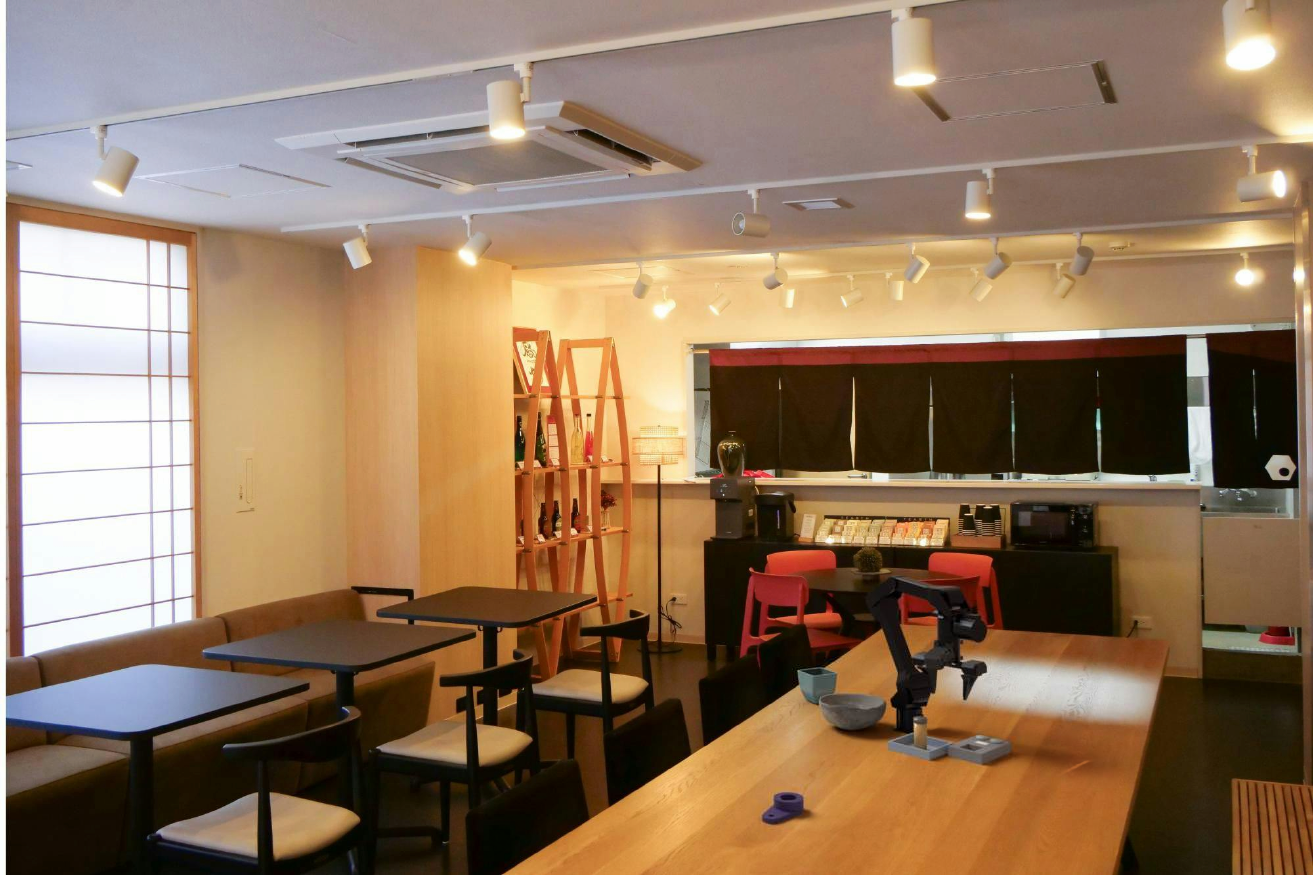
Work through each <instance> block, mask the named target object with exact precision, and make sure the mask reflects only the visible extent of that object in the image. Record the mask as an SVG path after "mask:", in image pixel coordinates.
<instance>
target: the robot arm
mask: <svg viewBox="0 0 1313 875" xmlns="http://www.w3.org/2000/svg"><path fill="white" fill-rule="evenodd" d="M904 594H906V595H907V596H908V595H909V596H912V597H914V598H918V599H921V600H924V601H926V602H928V604H929V605H930V606H931V607H933V608H934V609H935V610H934V611H933V612H931V613H930V616H931V617H932V618H937V619H936V625H937V626H936V632H937V634H936V635H937V636H936V639H935V640H933V641H934V642H933V647H932V648H931V649H929V650H928V651H921V652H916V653H914V654H913V656H912V653H911V651H910V649H909V645H908V642H907V640H906V638H905V633H904V632H903V629H902V628H903V627H902V626H901V623H900V620H899V611H900V604H899V601H900V600H901V599H902V598H903V596H904ZM865 604H866V606H867V608H868V611H869V612H870V613H869V614H871V616H872V617H873V618H874V619H876V621H878V622H879V624H880V626H881V630H882V632H883V635H884V637H885V642H886V643H887V646H888V649H889V653H890V656H891V658H892V661H893V663H894V666H895V669H896V673H897V677H896V681H895V687H896V692H895V693H894V694H893V695H892V696H891V698H890V699H889V701H890V705H891V708H893V709H895V718H896V719H895V722H896V723H895V726H894V727H892V730H894V731H898V732H902V733H907V734H910V733H914V722H913V717H916V716H922V717H925V716H924V715H925V714H924V713H923V707H924V708H925V707H927V706H928V704H929V700H930V697H931V695H934V694H936V690H937V683H938V682H937V681H938V671H941V670H944V669H945V667H946V668H947V667H948V668H952V669H958V670H961V672H962V674H960V678H961V679H962V700H963V701H967V700H968V698H969V696H970V694H971V692H972V690H973V687H974V684H975V683H976V681H977V680H978V678H979V677H981V676H983V675H984V674H987V673H988V665H987V663H986V662H985V661H981V660H977V659H970V660H967V661H964V655H961V645H963V644H964V640H965V641H969V642H974V643H978V644H979V643H982V642H984V641H985V639H986V637H987V634H988V628H987V624H986V623H985V622H984V620H983V619H982V615H981V614H974V612H973V610H972V608H971V606H970V604H969V602H968V601H967V599H966V597H965V595H964V593H963V589H962V588H961V587H959V586H954V585H934V584H931V583H928V582H925V581H922V580H917V579H914V578H911V577H908V576H906V575H904V574H897V575H891V576H889V577H888V578H887V579H886V580H885V581H883V582H881V583H879V584H878V585H876V586H875V587H874V588H872V589H870V590H869V591H868V592H867V594H866V596H865Z"/></svg>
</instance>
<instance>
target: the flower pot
mask: <svg viewBox="0 0 1313 875" xmlns="http://www.w3.org/2000/svg"><path fill="white" fill-rule="evenodd" d="M797 677H798V684H799V688H800V691H801V692H800V693H802V695H803V697H804V698H805V700H806V701H807V702H811V703H812V704H815V705H816V704H819V699H820V697H822V696H825V695H828V694H835V692H836V688H837V682H838V681H837V680H838V672H836V671H834V670H831V669H827V668H824V667H814V668H813V667H812V668H806V669H799V670H797Z"/></svg>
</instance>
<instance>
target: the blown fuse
mask: <svg viewBox="0 0 1313 875" xmlns="http://www.w3.org/2000/svg"><path fill="white" fill-rule="evenodd" d="M913 722H914V747H915V748H919V749H923V750H927V736H928V717H925V716H924V717H922V716H916V717H913Z"/></svg>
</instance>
